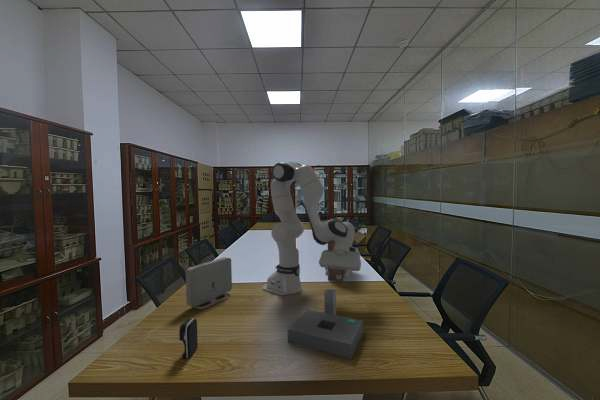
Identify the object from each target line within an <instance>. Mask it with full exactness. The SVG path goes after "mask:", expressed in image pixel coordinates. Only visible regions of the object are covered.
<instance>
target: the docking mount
mask: <svg viewBox="0 0 600 400" xmlns="http://www.w3.org/2000/svg"><path fill="white" fill-rule="evenodd" d="M363 334H364V320H363V319H362V320H361V319H358V318H352V317H347V316H342V315H337V314H336V315H333V314H327V313H325V312H322V311H316V310H313V309H306V311H304V312H303V313H302V314H301V315H300V317H298V319H296V321H295V322H294V323H293V324H291V326H289V328H287V342H288V343H289V344H293V345H297V346H299V347H304V348H308V349H311V350H316V351H320V352H324V353H326V354H330V355H334V356H338V357H342V358H346V359H350V360H352V358H353V356H354V354H355V352H356V349H357V347H358V345H359V343H360V341H361V339H362V337H363Z"/></svg>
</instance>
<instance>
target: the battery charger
mask: <svg viewBox="0 0 600 400" xmlns="http://www.w3.org/2000/svg"><path fill="white" fill-rule="evenodd" d="M178 336H179V337H178V338H179V341H181V342H182V343H183V344H184V346H183V347H184V352H183V353H182V355H181V356H182V358H183V359H185V358H186V359H189V358H191V357H192V356H193V354H194V353H195V351H196V350H197V349H198V345H199V344H198V343H199V342H198V320H197V318H187V319H186V320H185V321H183V322H182V324H181V325H180V326H179V334H178Z"/></svg>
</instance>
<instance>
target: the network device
mask: <svg viewBox="0 0 600 400" xmlns="http://www.w3.org/2000/svg"><path fill="white" fill-rule="evenodd" d="M232 272H233V271H232V258H231V257H225V256H224V257H223V256H222V257H220V258H217V259H214V260H210V261H207V262H203V263H200V264H197V265H196V264H195V265H193V266H190V267H187V268H186V269H185V286H186V287H185V288H186V289H185V292H186V293H185V294H186V305H187V306H190V307H192V308H194V309H198V310H203V309H206V308H208V307H210V306H212V305H215V304H217V303H219V302H221V301H223V300H226V299H228V297H229V295H228V293H229V292H231V291H232V289H233V274H232ZM220 296H223V297H222V298H219V299H217V297H220ZM206 302H207V303H208V304H206V305H204V306H199V305H201V304H204V303H206Z"/></svg>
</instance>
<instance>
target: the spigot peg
mask: <svg viewBox="0 0 600 400" xmlns="http://www.w3.org/2000/svg"><path fill="white" fill-rule="evenodd" d="M323 293H324V294H323V296H324V300H323V301H324V313H327V314H333V315H337V290H336V289H333V288H326V289H325V291H324V292H323Z"/></svg>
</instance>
